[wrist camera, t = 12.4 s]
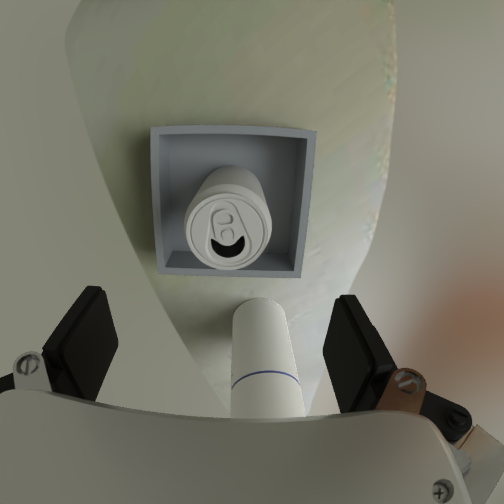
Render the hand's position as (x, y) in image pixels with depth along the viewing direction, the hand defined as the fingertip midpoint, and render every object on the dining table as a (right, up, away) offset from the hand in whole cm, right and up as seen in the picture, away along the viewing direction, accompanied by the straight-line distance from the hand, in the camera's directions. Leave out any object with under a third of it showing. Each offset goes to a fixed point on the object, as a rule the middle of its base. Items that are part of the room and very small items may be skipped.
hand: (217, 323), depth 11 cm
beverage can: (-1, +9, +20) cm, 22 cm away
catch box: (-1, +9, +20) cm, 22 cm away
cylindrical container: (+2, -6, +28) cm, 29 cm away
